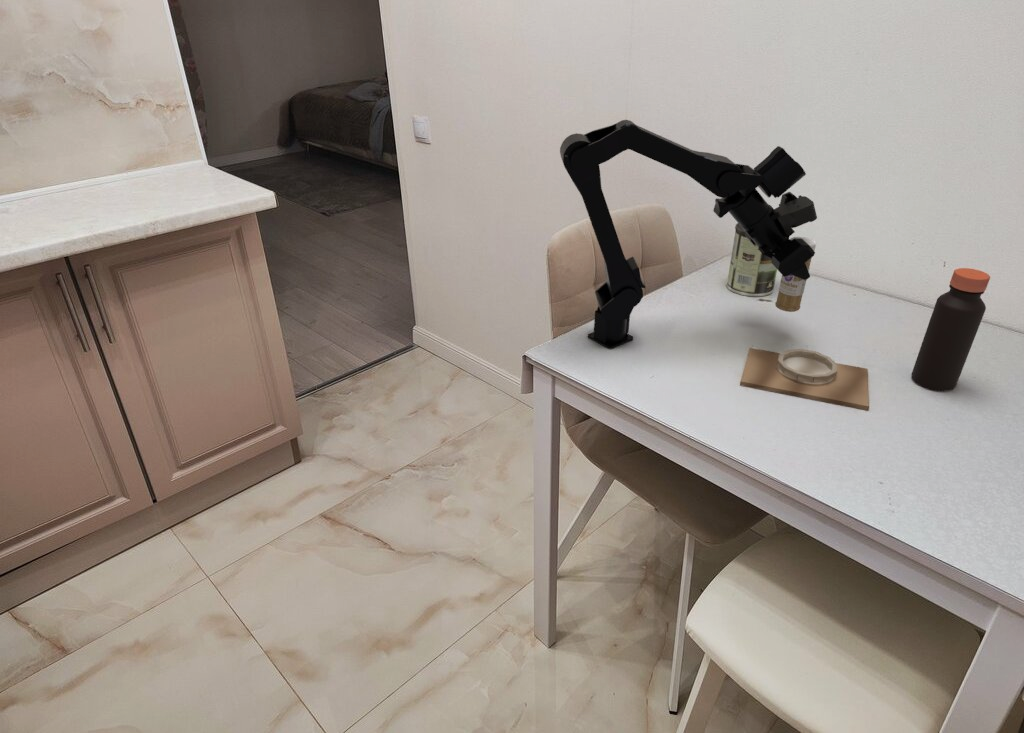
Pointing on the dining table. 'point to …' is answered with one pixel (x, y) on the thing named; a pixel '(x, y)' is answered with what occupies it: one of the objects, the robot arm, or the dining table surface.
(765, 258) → the coffee can
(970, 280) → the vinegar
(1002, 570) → the dining table surface
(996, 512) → the dining table surface
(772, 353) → the dish board
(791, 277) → the sprinkles bottle
